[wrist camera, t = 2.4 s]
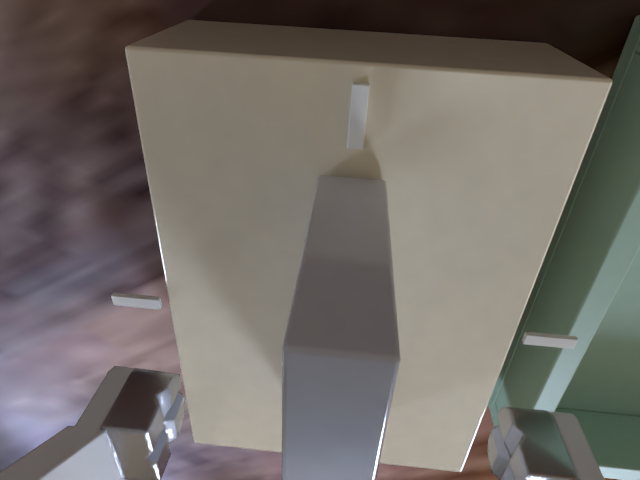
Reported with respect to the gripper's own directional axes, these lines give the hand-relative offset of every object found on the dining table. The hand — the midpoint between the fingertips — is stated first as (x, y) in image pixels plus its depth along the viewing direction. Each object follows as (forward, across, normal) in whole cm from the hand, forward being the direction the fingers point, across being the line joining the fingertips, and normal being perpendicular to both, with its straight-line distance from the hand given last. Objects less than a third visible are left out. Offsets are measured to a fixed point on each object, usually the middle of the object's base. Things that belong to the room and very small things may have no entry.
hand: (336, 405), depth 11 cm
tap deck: (+7, 0, 0) cm, 7 cm away
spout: (+3, 0, 0) cm, 3 cm away
